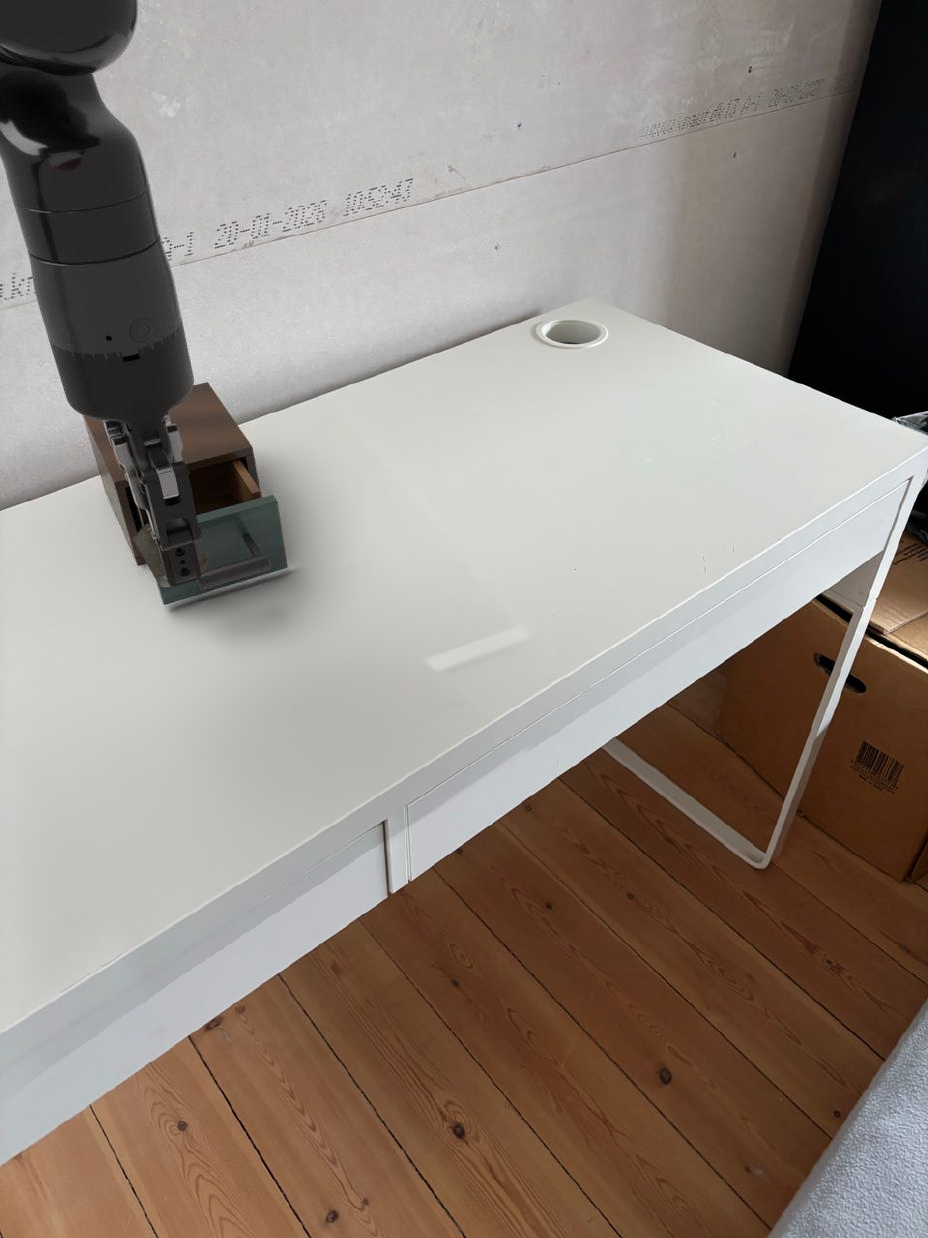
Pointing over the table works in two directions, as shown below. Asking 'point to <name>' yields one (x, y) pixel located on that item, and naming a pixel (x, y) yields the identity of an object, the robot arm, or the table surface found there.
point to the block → (158, 554)
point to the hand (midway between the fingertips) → (172, 553)
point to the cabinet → (204, 444)
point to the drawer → (229, 530)
